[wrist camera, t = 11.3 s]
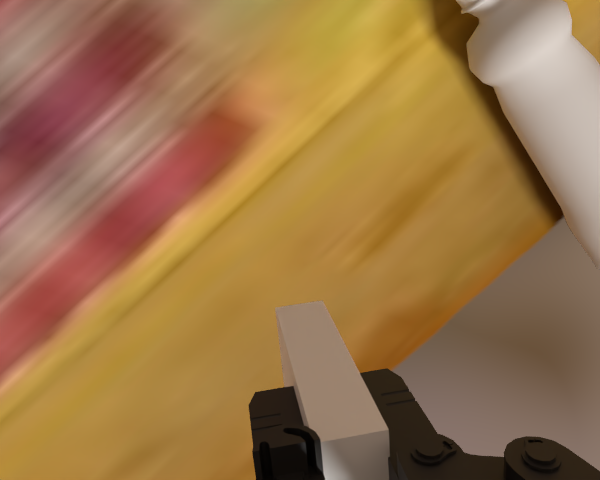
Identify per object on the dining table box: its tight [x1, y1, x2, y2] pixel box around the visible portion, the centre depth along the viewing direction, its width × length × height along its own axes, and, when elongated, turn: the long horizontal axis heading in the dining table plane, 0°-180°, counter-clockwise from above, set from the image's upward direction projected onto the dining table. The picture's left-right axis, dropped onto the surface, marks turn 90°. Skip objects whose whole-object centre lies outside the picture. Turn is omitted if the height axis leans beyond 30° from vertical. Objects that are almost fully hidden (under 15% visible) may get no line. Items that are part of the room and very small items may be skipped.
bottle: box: [456, 0, 600, 269], centre depth 43 cm, size 9×9×30 cm
